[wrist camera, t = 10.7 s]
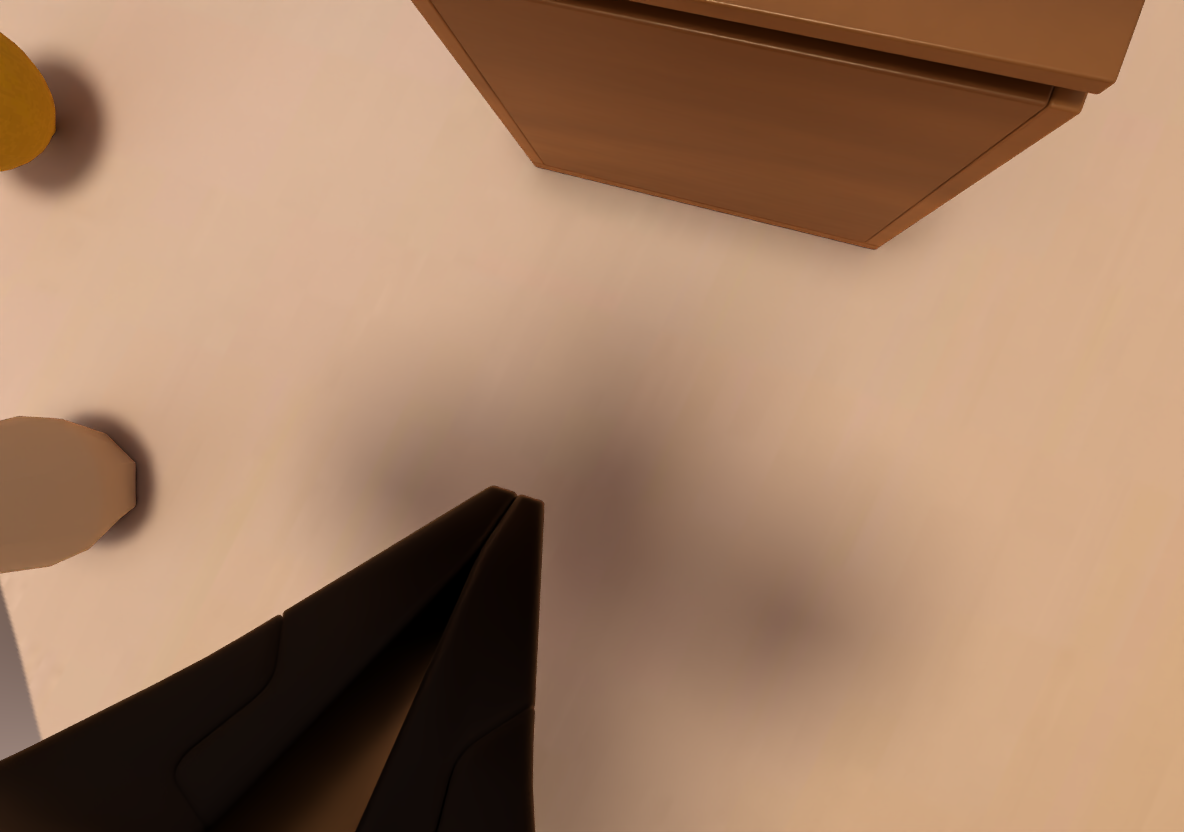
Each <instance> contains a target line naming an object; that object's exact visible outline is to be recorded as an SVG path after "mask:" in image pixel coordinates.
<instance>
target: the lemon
mask: <svg viewBox="0 0 1184 832" xmlns="http://www.w3.org/2000/svg"><path fill="white" fill-rule="evenodd" d="M55 121H56V119H55V106H54V101H53V97H52V95H51V92H50V90H49V88H48V86H47V83H46V81H45V79H44V78H43V76H42V74H41V73H40V71H39V70H38V69H37V68H36V66H35V65H34V64H33V63H32V61H31V60H30V59H29V58H28V56H27V55H26V54H25V53H24V52H23V51H22V50H21V49H20V48H19V47H18V46H17V45H16V44H15V43H14V42H12V41H11V40H10V39H8V38H7V37H6V36H5V35H3V34H2V33H1V32H0V171H6V170H11V169H13V168H16V167H18V166H21V165H23V164H26V163H28V162H30V161H31V160H33V159H34V158H35V157H37V156H38V155H39V154H40V153H42V152H43V151H44V149H45V148H46V146H47V145H48V144H49V142H50V139H51V137H52V135H54V133H55V131H56V125H55Z"/></svg>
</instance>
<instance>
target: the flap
mask: <svg viewBox="0 0 1184 832" xmlns="http://www.w3.org/2000/svg"><path fill="white" fill-rule="evenodd" d="M629 1H634V2H639V3H644V4H649V5H653V6H658V7H663V8H668V9H673V10H678V11H683V12H688V13H693V14H698V15H703V16H708V17H713V18H718V19H723V20H728V21H733V22H738V23H743V24H748V25H753V26H758V27H763V28H768V29H773V30H778V31H783V32H788V33H793V34H798V35H803V36H808V37H813V38H818V39H823V40H828V41H833V42H838V43H843V44H848V45H853V46H858V47H863V48H868V49H873V50H878V51H883V52H888V53H893V54H898V55H903V56H908V57H913V58H918V59H923V60H928V61H933V62H938V63H943V64H948V65H953V66H958V67H963V68H968V69H973V70H978V71H983V72H988V73H993V74H998V75H1003V76H1008V77H1013V78H1018V79H1023V80H1028V81H1033V82H1038V83H1043V84H1048V85H1053V86H1058V87H1063V88H1068V89H1072V90H1077V91H1082V92H1087V93H1092V94H1099V93H1101V92H1102V91H1104V90H1105V89H1107V88H1108V87H1110V86H1111V85H1112V84H1114V83H1115V82H1116V80H1117V77H1118V74H1119V71H1120V69H1121V66H1122V63H1123V60H1124V57H1125V55H1126V52H1127V49H1128V46H1129V44H1130V41H1131V38H1132V35H1133V32H1134V30H1135V27H1136V24H1137V21H1138V19H1139V16H1140V13H1141V10H1142V7H1143V5H1144V2H1145V0H629Z"/></svg>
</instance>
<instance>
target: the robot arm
mask: <svg viewBox="0 0 1184 832" xmlns="http://www.w3.org/2000/svg"><path fill="white" fill-rule="evenodd" d="M543 527H544V502H543V501H541V500H538V499H535V498H532V497H529V496H526V495H522V494H521V495H519V496H517V494H516V493H515V492H513V491H510V490H507V489H504V488H501V487H498V486H490V487H488V488H486V489H484V490H483V491H481V492H480V493H478V494H476V495H475V496H473V497H471V498H470V499H468V500H466V501H465V502H463V503H461V504H460V505H458V506H456V507H455V508H453V509H452V510H450V511H448V512H447V513H445V514H443V515H442V516H440V517H438V518H437V519H435V520H433V521H432V522H430V523H429V524H427V525H425V526H424V527H422V528H420V529H419V530H417V531H415V532H414V533H412V534H410V535H409V536H407V537H406V538H404V539H402V540H401V541H399V542H397V543H396V544H394V545H392V546H391V547H389V548H387V549H386V550H384V551H382V552H381V553H379V554H378V555H376V556H374V557H373V558H371V559H369V560H368V561H366V562H364V563H363V564H361V565H359V566H358V567H356V568H355V569H353V570H351V571H350V572H348V573H346V574H345V575H343V576H341V577H340V578H338V579H336V580H335V581H333V582H332V583H330V584H328V585H327V586H325V587H323V588H322V589H320V590H318V591H317V592H315V593H313V594H312V595H310V596H308V597H307V598H305V599H304V600H302V601H300V602H299V603H297V604H295V605H294V606H292V607H290V608H289V609H287V610H285V611H284V613H283V617H282V616H281V615H277V616H275V617H274V618H272V619H270V620H269V621H267V622H265V623H264V624H262V625H260V626H259V627H257V628H255V629H254V630H252V631H250V632H249V633H247V634H245V635H244V636H242V637H240V638H238V639H237V640H235V641H233V642H231V643H230V644H228V645H226V646H225V647H223V648H221V649H219V650H218V651H216V652H214V653H212V654H211V655H209V656H207V657H205V658H204V659H202V660H200V661H198V662H196V663H194V664H192V665H190V666H188V667H186V668H185V669H183V670H181V671H179V672H177V673H175V674H173V675H171V676H169V677H167V678H166V679H164V680H162V681H160V682H158V683H156V684H154V685H152V686H150V687H148V688H146V689H144V690H142V691H140V692H138V693H136V694H134V695H132V696H130V697H128V698H126V699H124V700H122V701H120V702H118V703H116V704H114V705H112V706H110V707H108V708H106V709H104V710H102V711H100V712H98V713H96V714H94V715H92V716H90V717H88V718H86V719H84V720H82V721H80V722H78V723H76V724H74V725H72V726H70V727H68V728H66V729H64V730H62V731H60V732H58V733H56V734H54V735H52V736H50V737H48V738H46V739H44V740H42V741H40V742H38V743H37V744H34V745H32V746H30V747H28V748H26V749H24V750H22V751H20V752H18V753H16V754H14V755H12V756H9V757H8V758H5V759H3V760H1V761H0V832H535V818H534V799H533V741H534V720H535V711H534V706H535V693H536V672H537V651H538V631H539V610H540V589H541V568H542V547H543Z"/></svg>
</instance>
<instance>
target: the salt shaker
mask: <svg viewBox="0 0 1184 832" xmlns="http://www.w3.org/2000/svg"><path fill="white" fill-rule="evenodd" d="M135 506H136V463H135V462H134V461H133V460H132V459H131V458H130V457H129V456H128V455H127V454H126V453H125V452H124V451H123V450H122V449H121V448H120V447H119V446H118V445H117V444H116V443H115V442H114V441H113V440H112V439H111V438H110V437H109V436H108V435H107V434H106V433H103V432H100V431H97V430H94V429H91V428H88V427H85V426H82V425H79V424H76V423H73V422H70V421H67V420H64V419H56V418H43V417H26V416H17V417H13V418H9V419H5V420H1V421H0V573H7V572H14V571H21V570H28V569H35V568H42V567H49V566H52V565H54V564H57V563H59V562H61V561H63V560H66V559H68V558H70V557H72V556H75V555H77V554H79V553H81V552H84V551H86V550H88V549H89V548H90V547H91V546H93V545H94V544H95V543H96V542H97V541H98V540H99V539H100V538H101V537H102V536H103V535H104V534H105V533H106V532H107V531H108V530H109V529H110V528H111V527H112V526H113V525H114V524H115V523H116V522H117V521H118V520H119V519H120V518H121V517H123V516H124V515H125V514H126V513H128V512H129V511H130V510H131V509H133V508H134V507H135Z"/></svg>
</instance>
